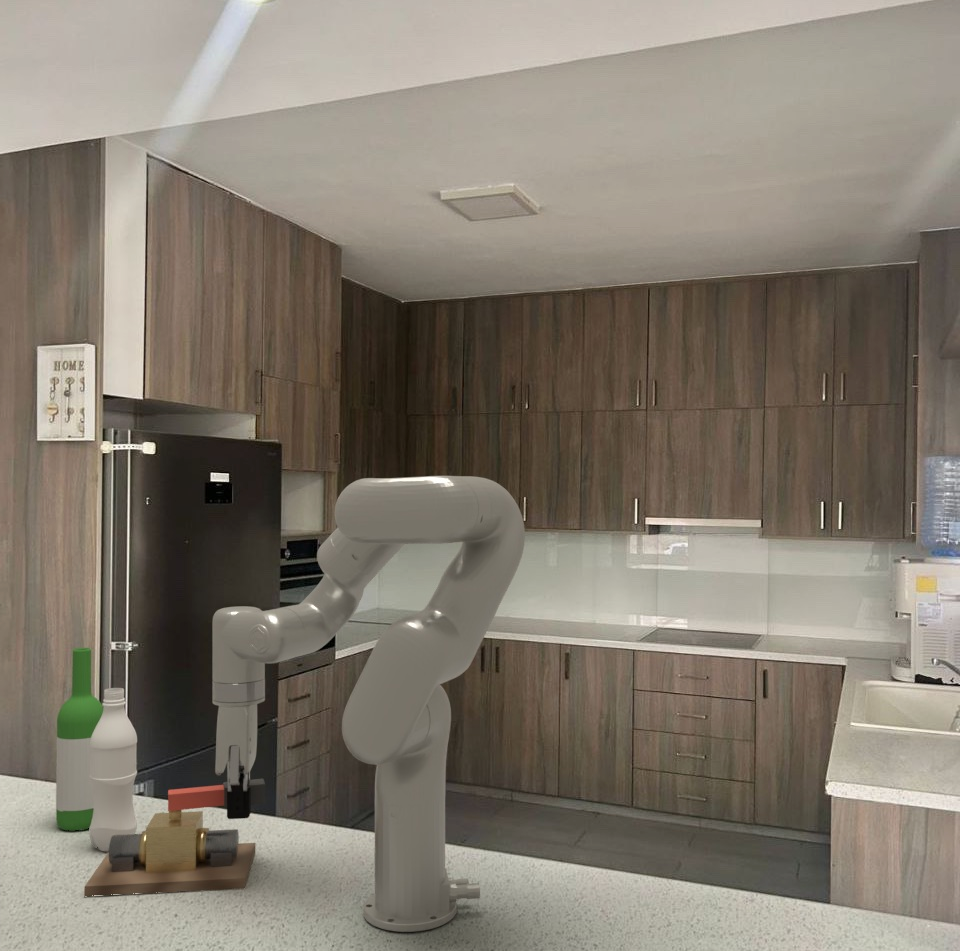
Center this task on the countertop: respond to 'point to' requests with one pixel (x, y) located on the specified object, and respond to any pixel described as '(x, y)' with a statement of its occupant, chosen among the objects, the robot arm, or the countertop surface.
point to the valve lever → (209, 797)
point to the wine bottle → (76, 748)
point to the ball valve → (173, 845)
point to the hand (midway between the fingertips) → (238, 816)
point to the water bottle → (113, 772)
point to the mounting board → (172, 877)
